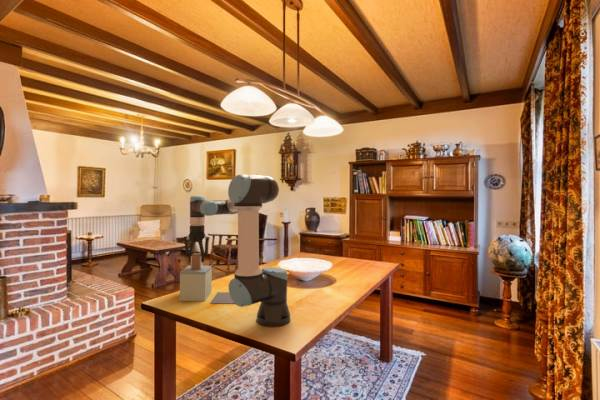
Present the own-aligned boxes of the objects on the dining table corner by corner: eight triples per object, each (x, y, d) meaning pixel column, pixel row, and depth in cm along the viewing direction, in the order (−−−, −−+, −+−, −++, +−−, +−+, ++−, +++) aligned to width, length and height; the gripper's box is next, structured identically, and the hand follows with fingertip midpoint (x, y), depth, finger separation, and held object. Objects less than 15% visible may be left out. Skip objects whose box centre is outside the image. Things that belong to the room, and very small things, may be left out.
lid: (205, 276, 153) (205, 256, 153) (179, 276, 153) (180, 256, 152) (211, 269, 166) (212, 251, 166) (188, 269, 166) (188, 251, 165)
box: (205, 301, 154) (205, 274, 153) (179, 300, 153) (179, 274, 153) (211, 292, 167) (211, 267, 166) (188, 292, 166) (188, 267, 166)
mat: (241, 303, 151) (241, 303, 151) (210, 303, 150) (210, 302, 150) (246, 293, 167) (246, 292, 167) (217, 292, 166) (217, 292, 166)
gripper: (214, 224, 163) (214, 266, 163) (183, 223, 162) (182, 266, 163) (211, 225, 155) (210, 270, 156) (178, 225, 154) (177, 269, 155)
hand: (196, 267), depth 159 cm, fingers closed on lid, 4 cm apart
